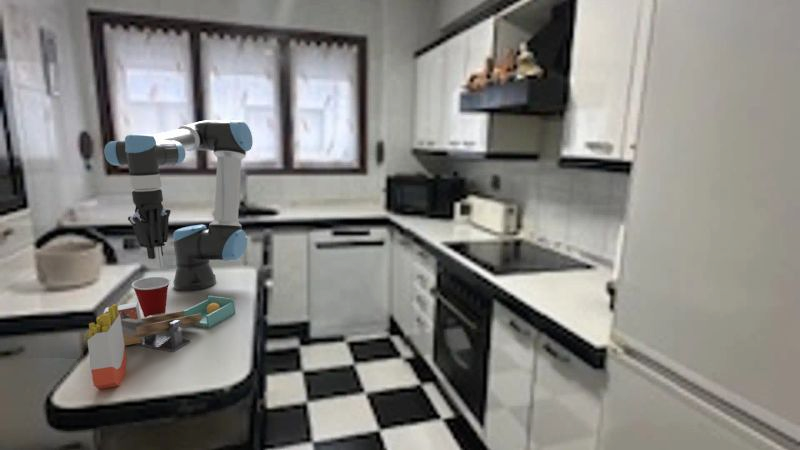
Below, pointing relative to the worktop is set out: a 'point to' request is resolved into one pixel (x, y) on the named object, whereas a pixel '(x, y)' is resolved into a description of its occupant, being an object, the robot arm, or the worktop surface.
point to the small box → (131, 313)
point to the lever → (156, 324)
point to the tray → (215, 317)
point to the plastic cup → (152, 294)
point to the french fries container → (107, 349)
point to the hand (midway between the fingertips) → (157, 267)
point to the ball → (212, 307)
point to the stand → (166, 339)
